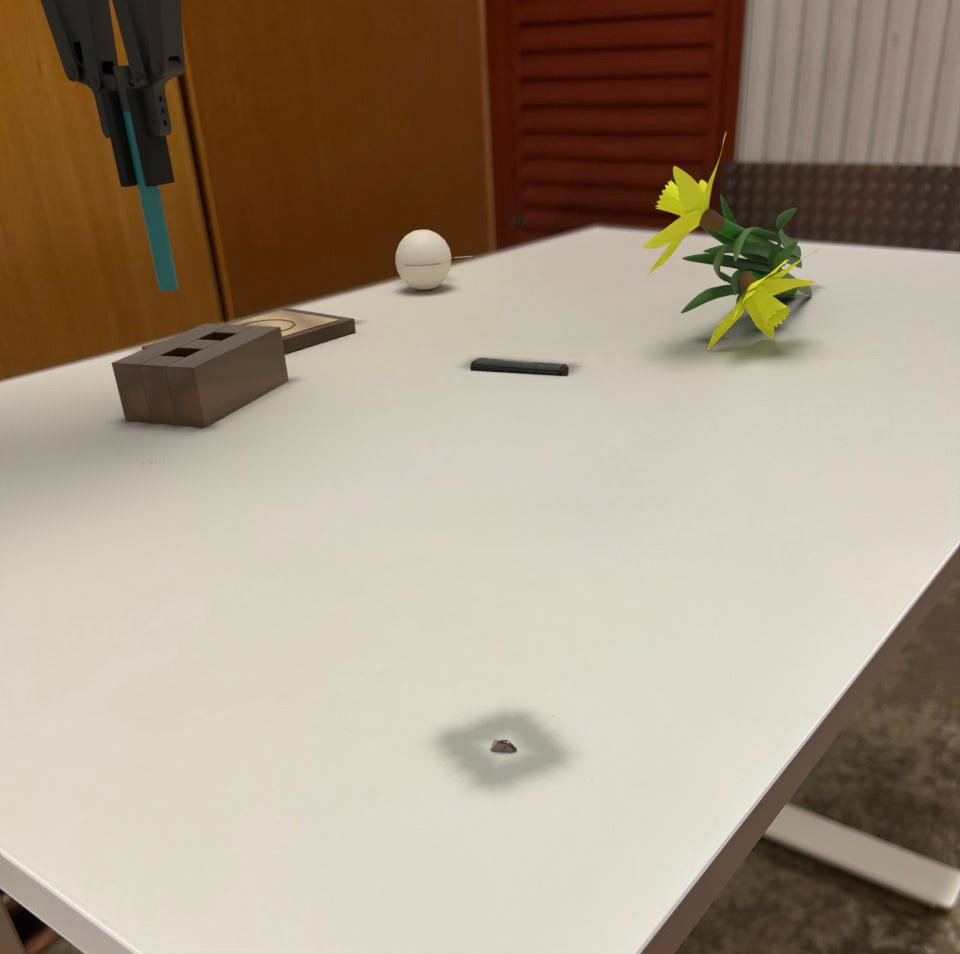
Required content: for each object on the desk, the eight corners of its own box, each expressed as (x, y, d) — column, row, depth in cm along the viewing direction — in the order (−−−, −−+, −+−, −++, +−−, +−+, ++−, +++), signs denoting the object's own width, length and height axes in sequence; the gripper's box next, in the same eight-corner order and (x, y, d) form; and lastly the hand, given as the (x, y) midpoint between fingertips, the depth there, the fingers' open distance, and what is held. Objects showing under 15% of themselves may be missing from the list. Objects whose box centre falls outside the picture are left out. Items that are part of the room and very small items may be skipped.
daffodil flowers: (879, 309, 113) (818, 283, 83) (759, 370, 121) (664, 366, 91) (821, 171, 112) (740, 97, 83) (705, 241, 120) (592, 196, 91)
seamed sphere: (390, 295, 128) (384, 235, 124) (407, 283, 134) (402, 225, 130) (464, 295, 126) (461, 234, 122) (479, 283, 132) (476, 224, 128)
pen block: (127, 432, 86) (111, 362, 82) (217, 386, 96) (205, 323, 93) (207, 439, 83) (193, 368, 80) (290, 391, 94) (280, 326, 91)
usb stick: (571, 377, 93) (571, 360, 92) (561, 385, 91) (561, 368, 90) (480, 369, 97) (479, 353, 96) (468, 377, 95) (467, 361, 94)
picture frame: (213, 376, 99) (210, 359, 98) (144, 360, 106) (140, 344, 105) (356, 332, 112) (354, 317, 111) (286, 320, 119) (284, 306, 118)
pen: (154, 291, 81) (107, 66, 73) (167, 286, 83) (122, 65, 74) (171, 291, 81) (125, 65, 73) (183, 287, 82) (140, 64, 74)
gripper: (194, -210, 66) (254, 177, 78) (23, -181, 71) (104, 179, 83) (121, -233, 60) (198, 190, 72) (-60, -199, 65) (40, 191, 77)
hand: (148, 183), depth 78 cm, fingers closed on pen, 2 cm apart
